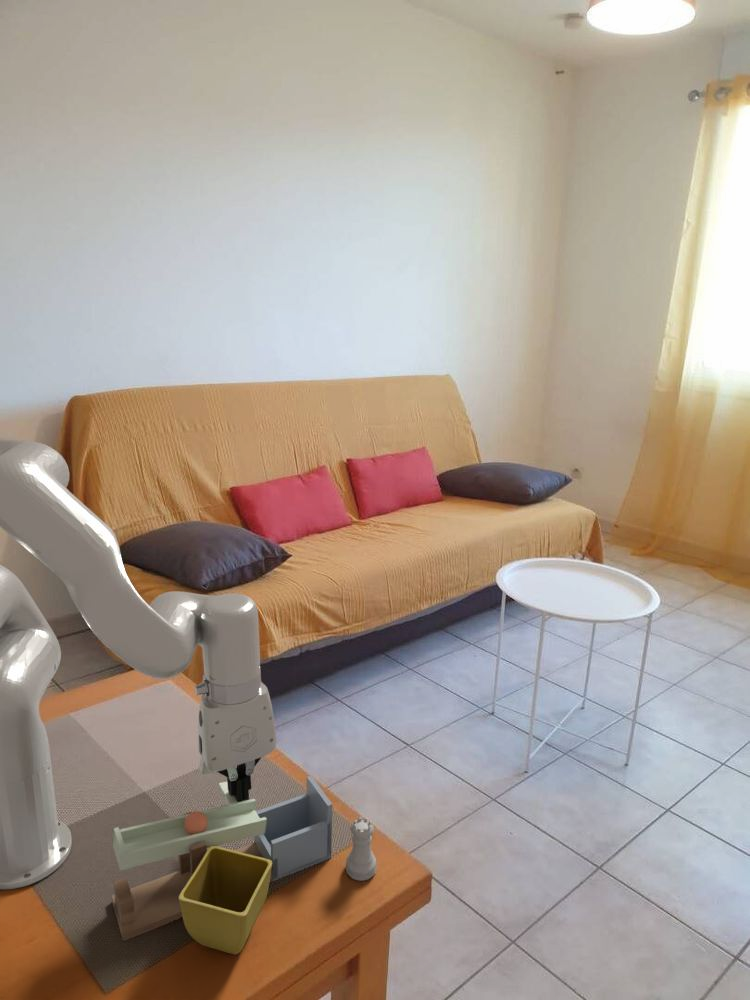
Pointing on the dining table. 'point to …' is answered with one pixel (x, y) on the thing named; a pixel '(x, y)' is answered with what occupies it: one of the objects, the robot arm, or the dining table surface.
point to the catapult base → (159, 894)
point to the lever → (174, 840)
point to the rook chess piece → (361, 851)
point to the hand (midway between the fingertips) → (240, 795)
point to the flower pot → (225, 898)
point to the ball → (195, 823)
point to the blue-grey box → (297, 832)
